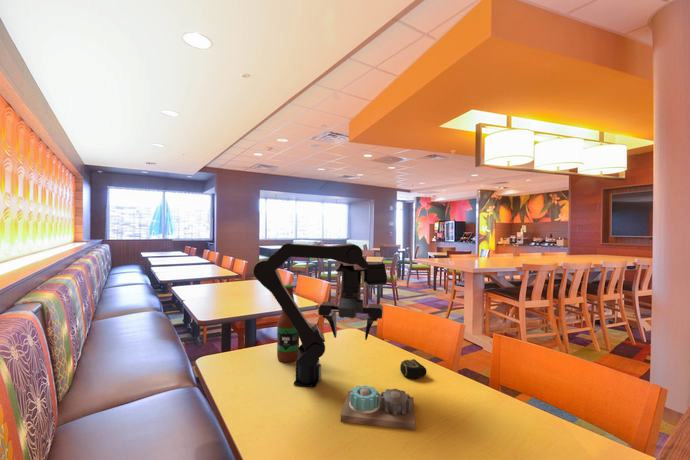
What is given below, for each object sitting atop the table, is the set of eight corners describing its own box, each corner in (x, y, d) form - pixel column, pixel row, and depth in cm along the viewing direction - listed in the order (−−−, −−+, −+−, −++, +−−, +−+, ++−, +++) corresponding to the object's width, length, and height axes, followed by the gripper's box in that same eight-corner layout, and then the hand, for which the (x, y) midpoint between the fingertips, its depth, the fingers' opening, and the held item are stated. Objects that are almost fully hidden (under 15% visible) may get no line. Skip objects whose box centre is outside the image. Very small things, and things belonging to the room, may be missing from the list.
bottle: (273, 361, 107) (273, 286, 106) (282, 353, 114) (282, 282, 113) (294, 364, 105) (294, 288, 105) (301, 355, 112) (302, 284, 112)
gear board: (340, 421, 75) (340, 400, 75) (348, 396, 86) (348, 377, 85) (415, 430, 72) (415, 408, 72) (413, 403, 83) (413, 383, 83)
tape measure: (427, 379, 96) (427, 366, 96) (407, 382, 94) (407, 369, 94) (415, 369, 103) (416, 357, 103) (396, 371, 101) (396, 359, 100)
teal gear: (348, 410, 76) (348, 397, 76) (352, 394, 83) (352, 383, 83) (377, 413, 75) (377, 400, 75) (379, 397, 82) (379, 386, 82)
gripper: (313, 290, 89) (312, 346, 89) (381, 293, 86) (380, 351, 86) (322, 283, 100) (322, 332, 100) (383, 285, 97) (382, 337, 97)
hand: (350, 338), depth 95 cm, fingers open, 9 cm apart
